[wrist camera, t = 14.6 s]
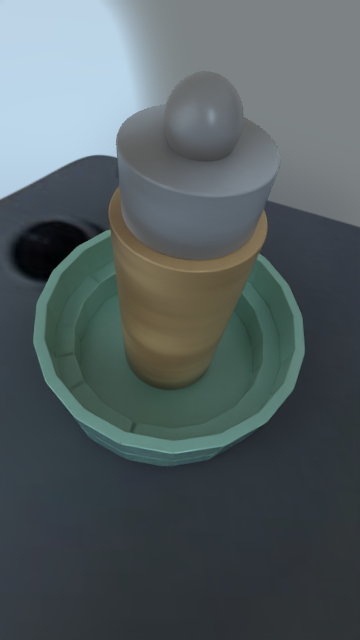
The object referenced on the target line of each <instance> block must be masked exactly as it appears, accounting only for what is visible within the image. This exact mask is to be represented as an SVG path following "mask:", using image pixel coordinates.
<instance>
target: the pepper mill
mask: <svg viewBox="0 0 360 640" xmlns="http://www.w3.org/2000/svg"><path fill="white" fill-rule="evenodd" d="M116 145H117V159H118V172H119V187H118V188H117V189H116V191H115V193H114V194H113V196H112V199H111V201H110V205H109V222H110V230H111V239H112V247H113V255H114V264H115V272H116V281H117V289H118V297H119V306H120V314H121V322H122V331H123V339H124V347H125V355H126V360H127V363H128V365H129V367H130V369H131V370H132V372H133V373H134V374H135V375H136V376H137V377H138V378H139V379H140V380H141V381H142V382H144V383H146V384H147V385H149V386H152V387H154V388H158V389H162V390H177V389H182V388H185V387H188V386H190V385H192V384H194V383H195V382H197V381H198V380H199V379H200V378H201V377H202V376H203V375H204V374H205V372H206V371H207V369H208V367H209V365H210V363H211V361H212V359H213V356H214V354H215V352H216V350H217V347H218V345H219V343H220V340H221V338H222V336H223V334H224V331H225V329H226V327H227V325H228V322H229V320H230V318H231V316H232V313H233V311H234V309H235V307H236V304H237V302H238V300H239V298H240V295H241V293H242V291H243V289H244V286H245V284H246V282H247V280H248V277H249V275H250V273H251V271H252V268H253V266H254V264H255V262H256V259H257V257H258V255H259V252H260V250H261V248H262V246H263V243H264V241H265V238H266V235H267V218H266V214H265V211H264V206H265V204H266V201H267V198H268V196H269V194H270V191H271V188H272V186H273V183H274V181H275V178H276V176H277V173H278V170H279V168H280V153H279V150H278V147H277V145H276V143H275V142H274V140H273V139H272V138H271V137H270V135H269V134H267V132H265V131H264V130H263V129H262V128H260V127H259V126H258V125H256V124H255V123H253V122H252V121H250V120H248V119H246V118H244V114H243V106H242V102H241V99H240V96H239V94H238V92H237V90H236V89H235V88H234V86H233V85H232V84H231V83H230V82H229V81H228V80H227V79H226V78H225V77H223V76H221V75H219V74H217V73H213V72H206V71H202V72H197V73H194V74H191V75H189V76H187V77H185V78H184V79H183V80H181V81H180V82H179V83H178V84H177V85H176V86H175V88H174V89H173V91H172V92H171V94H170V96H169V98H168V100H167V103H166V104H165V105H159V106H154V107H151V108H147V109H144V110H142V111H139V112H137V113H135V114H134V115H132V116H131V117H129V118H128V119H127V120H126V121H125V122H124V123H123V124H122V126H121V127H120V129H119V132H118V134H117V139H116Z"/></svg>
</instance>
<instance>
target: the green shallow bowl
mask: <svg viewBox="0 0 360 640" xmlns="http://www.w3.org/2000/svg"><path fill="white" fill-rule="evenodd" d="M33 341H34V342H33V343H34V347H35V350H36V353H37V356H38V360H39V363H40V366H41V369H42V373H43V376H44V379H45V381H46V383H47V385H48V386H49V387H50V389H51V390H52V391H53V393H54V394H55V395H56V397H57V398H58V399H59V401H60V402H61V403H62V404H63V406H64V407H65V408H66V410H67V411H68V412H69V413H70V415H71V416H72V417H73V418H74V420H75V421H76V422H77V423H78V424H79V426H80V427H81V428H82V429H83V431H84V432H85V433H86V434H87V436H88V437H89V438H91V439H92V440H93V441H95V442H97V443H98V444H100V445H102V446H104V447H105V448H107V449H109V450H110V451H112V452H114V453H116V454H117V455H119V456H121V457H122V458H124V459H125V458H126V459H127V460H132V461H137V462H143V463H148V464H154V465H159V466H165V467H166V466H169V467H170V466H176V465H182V464H188V463H194V462H200V461H206V460H207V459H208V460H209V459H211V458H213V457H214V456H216V455H218V454H220V453H222V452H223V451H225V450H227V449H229V448H230V447H232V446H234V445H236V444H237V443H239V442H241V441H242V440H244V439H245V438H246V437H248V436H249V435H250V434H252V433H253V432H254V431H256V430H257V429H259V428H260V427H261V426H263V425H264V424H265V423H267V422H268V421H269V419H270V418H271V417H272V416H273V415H274V413H275V412H276V411H277V410H278V408H279V407H280V406H281V405H282V403H283V402H284V401H285V400H286V399H287V397H288V396H289V395H290V394H291V392H292V391H293V389H294V387H295V384H296V381H297V378H298V374H299V371H300V368H301V364H302V361H303V358H304V355H305V345H304V331H303V318H302V314H301V312H300V310H299V307H298V305H297V303H296V301H295V298H294V296H293V294H292V291H291V289H290V287H289V285H288V284H287V282H286V281H285V280H284V279H283V278H282V276H281V275H280V274H279V273H278V272H277V270H276V269H275V268H274V267H273V266H272V264H271V263H270V262H269V261H268V260H267V259H266V258H265V257H263V256H262V255H261V254H259V255H258V257H257V259H256V262H255V264H254V266H253V268H252V271H251V273H250V275H249V277H248V280H247V282H246V284H245V286H244V289H243V291H242V293H241V295H240V298H239V300H238V302H237V304H236V307H235V309H234V311H233V313H232V316H231V318H230V320H229V322H228V325H227V327H226V329H225V331H224V334H223V336H222V338H221V340H220V343H219V345H218V347H217V350H216V352H215V354H214V356H213V359H212V361H211V363H210V365H209V367H208V369H207V371H206V372H205V374H204V375H203V376H202V377H201V378H200V379H199V380H198V381H197V382H195V383H194V384H192V385H190V386H188V387H185V388H182V389H177V390H162V389H158V388H154V387H152V386H149V385H147V384H146V383H144V382H142V381H141V380H140V379H139V378H138V377H137V376H136V375H135V374H134V373H133V372H132V370H131V369H130V367H129V365H128V363H127V360H126V355H125V347H124V339H123V331H122V322H121V314H120V306H119V297H118V289H117V281H116V272H115V264H114V255H113V247H112V239H111V230H110V229H109V230H107V231H105V232H103V233H101V234H99V235H98V236H96V237H94V238H92V239H90V240H88V241H87V242H85V243H83V244H81V245H79V246H78V247H76V248H75V249H74V250H73V251H72V252H71V253H70V254H69V255H68V256H67V257H66V258H65V259H64V260H63V261H62V262H61V263H60V264H59V265H58V266H57V267H56V268H55V269H54V270H53V272H52V274H51V276H50V278H49V280H48V282H47V284H46V286H45V288H44V290H43V292H42V294H41V296H40V298H39V300H38V302H37V305H36V315H35V326H34V337H33Z"/></svg>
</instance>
